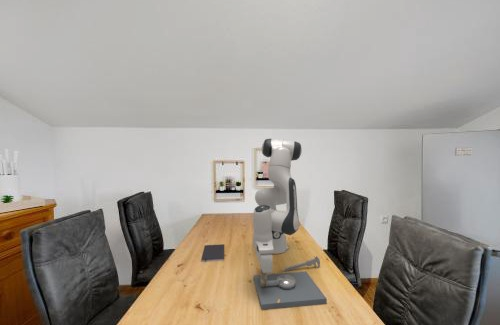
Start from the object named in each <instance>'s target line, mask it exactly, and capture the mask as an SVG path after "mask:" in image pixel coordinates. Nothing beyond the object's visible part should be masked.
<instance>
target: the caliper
mask: <svg viewBox="0 0 500 325" xmlns="http://www.w3.org/2000/svg"><path fill="white" fill-rule="evenodd" d="M313 257H314V258H312V259H308V260H306V261H304V262H301V263H297V264H294V265H290V266H287V267H283V269H282V272H289V271H292V270H296V269H299V268H303V267H306V266H307V267H311V266H313V265H314V268H316V269H317V268H319V267H320V268H321V261H320V258H319V256H318V255H316V256H313Z"/></svg>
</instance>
